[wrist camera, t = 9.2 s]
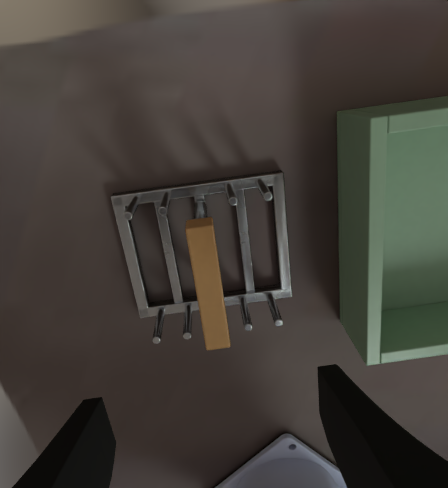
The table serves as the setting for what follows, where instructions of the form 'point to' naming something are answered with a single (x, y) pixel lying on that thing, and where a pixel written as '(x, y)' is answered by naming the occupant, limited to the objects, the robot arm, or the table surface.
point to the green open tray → (394, 229)
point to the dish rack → (206, 254)
